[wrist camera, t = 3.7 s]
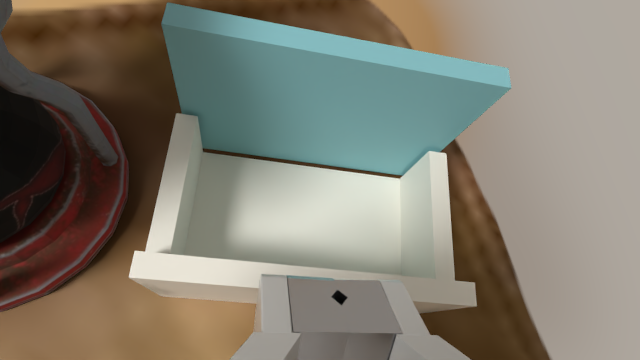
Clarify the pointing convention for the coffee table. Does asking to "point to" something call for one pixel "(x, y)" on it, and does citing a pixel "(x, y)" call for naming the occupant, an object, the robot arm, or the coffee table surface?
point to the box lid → (320, 92)
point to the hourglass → (52, 180)
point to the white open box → (296, 226)
